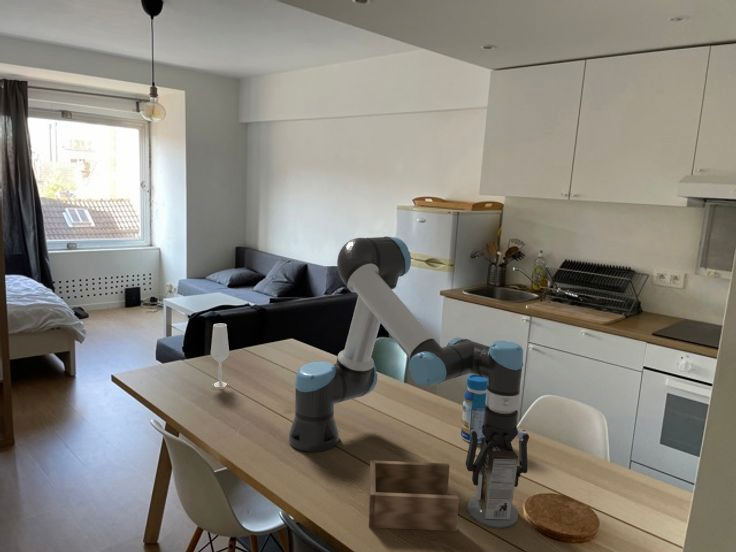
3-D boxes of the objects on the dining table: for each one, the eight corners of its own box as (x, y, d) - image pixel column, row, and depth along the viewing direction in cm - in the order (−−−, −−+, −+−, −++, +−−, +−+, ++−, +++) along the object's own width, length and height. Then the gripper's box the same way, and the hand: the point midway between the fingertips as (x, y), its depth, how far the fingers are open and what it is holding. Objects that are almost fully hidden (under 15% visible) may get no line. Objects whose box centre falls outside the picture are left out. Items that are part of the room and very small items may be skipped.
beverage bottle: (481, 447, 160) (487, 384, 157) (456, 439, 164) (460, 378, 161) (491, 436, 167) (496, 376, 164) (466, 429, 171) (470, 371, 168)
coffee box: (474, 496, 131) (480, 436, 128) (499, 497, 132) (506, 437, 129) (484, 519, 122) (491, 455, 120) (511, 520, 123) (519, 456, 120)
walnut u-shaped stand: (368, 527, 119) (370, 495, 118) (369, 489, 135) (370, 460, 133) (456, 530, 119) (458, 498, 118) (446, 492, 135) (448, 463, 133)
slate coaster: (472, 526, 121) (472, 523, 121) (463, 497, 133) (463, 494, 133) (524, 529, 121) (524, 526, 121) (510, 499, 133) (510, 496, 133)
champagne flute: (223, 381, 204) (223, 321, 200) (232, 386, 199) (232, 325, 195) (207, 385, 199) (207, 324, 195) (216, 390, 194) (216, 328, 190)
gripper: (462, 412, 119) (454, 504, 123) (549, 416, 119) (539, 508, 123) (456, 399, 126) (450, 486, 130) (538, 402, 126) (529, 490, 130)
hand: (493, 497), depth 126 cm, fingers open, 7 cm apart
